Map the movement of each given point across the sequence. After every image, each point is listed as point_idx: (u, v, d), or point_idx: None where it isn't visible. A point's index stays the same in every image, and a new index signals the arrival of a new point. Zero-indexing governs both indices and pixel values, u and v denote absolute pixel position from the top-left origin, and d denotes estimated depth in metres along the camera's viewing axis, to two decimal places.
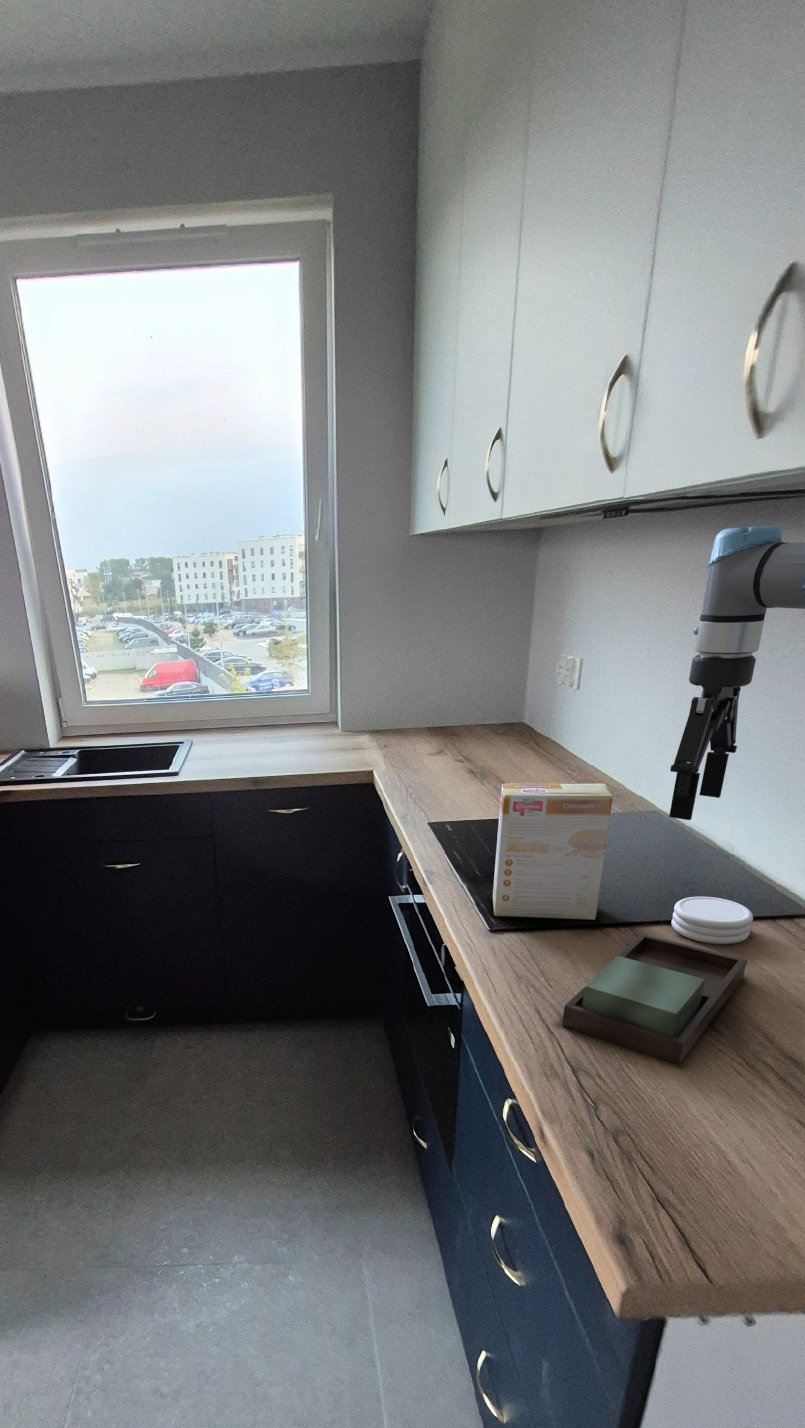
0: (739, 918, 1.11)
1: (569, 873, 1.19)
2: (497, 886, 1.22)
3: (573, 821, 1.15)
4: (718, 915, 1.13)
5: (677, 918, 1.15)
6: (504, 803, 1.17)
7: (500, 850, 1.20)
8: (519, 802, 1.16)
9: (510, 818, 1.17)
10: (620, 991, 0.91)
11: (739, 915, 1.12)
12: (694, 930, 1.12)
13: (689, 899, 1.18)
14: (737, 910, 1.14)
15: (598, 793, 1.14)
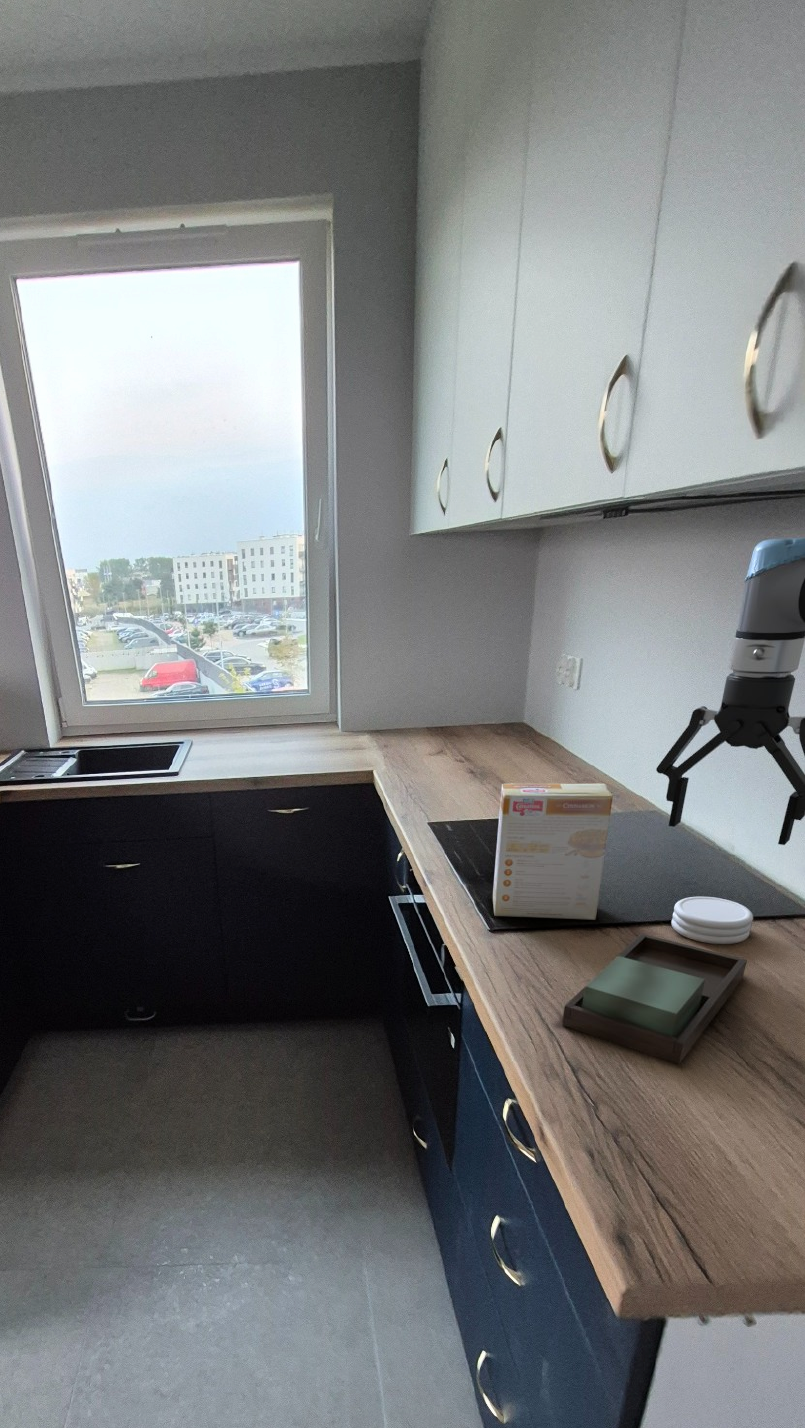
0: (739, 918, 1.11)
1: (569, 873, 1.19)
2: (497, 886, 1.22)
3: (573, 821, 1.15)
4: (718, 915, 1.13)
5: (677, 918, 1.15)
6: (504, 803, 1.17)
7: (500, 850, 1.20)
8: (519, 802, 1.16)
9: (510, 818, 1.17)
10: (620, 991, 0.91)
11: (739, 915, 1.12)
12: (694, 929, 1.12)
13: (689, 899, 1.18)
14: (737, 910, 1.14)
15: (598, 793, 1.14)
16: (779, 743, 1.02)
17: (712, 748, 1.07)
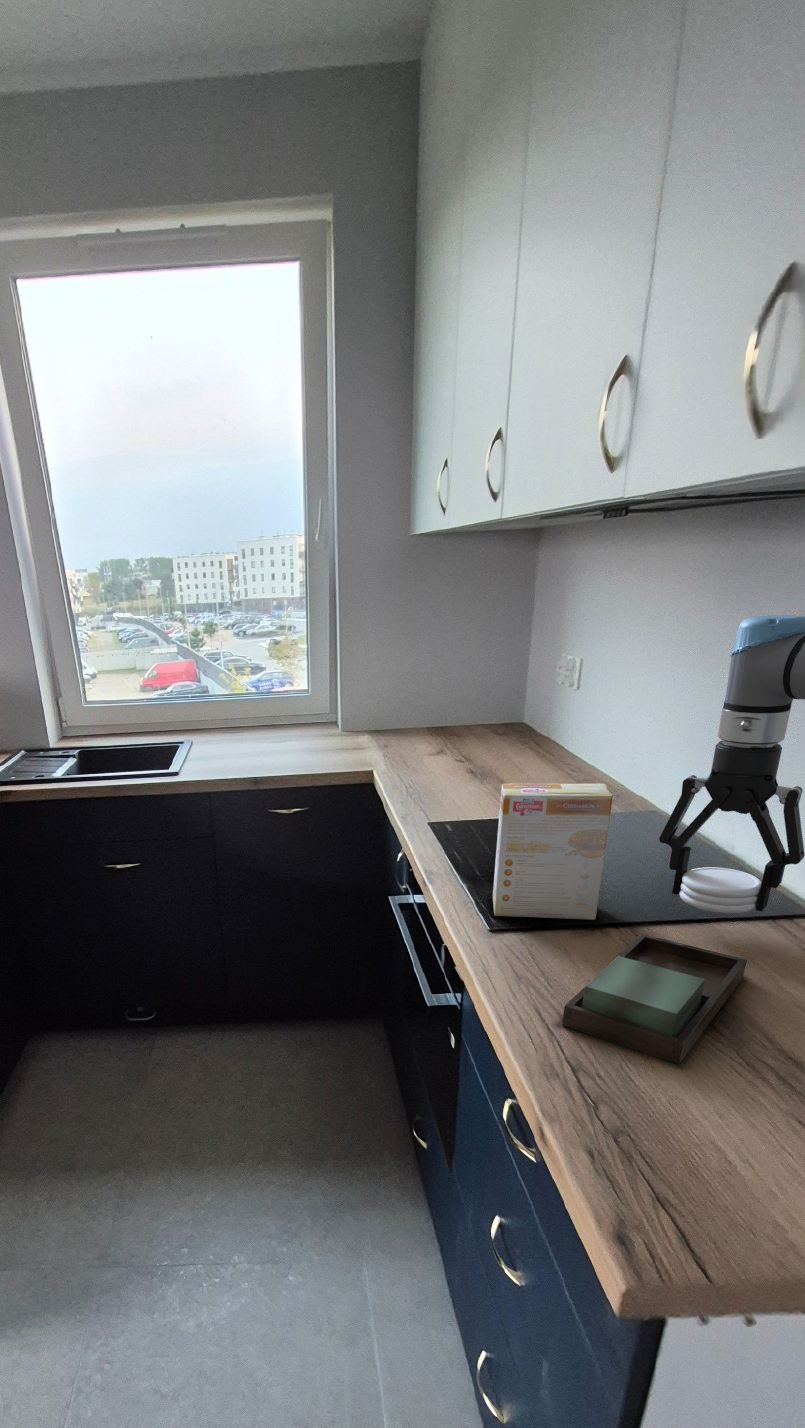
0: (749, 886, 1.09)
1: (569, 873, 1.19)
2: (497, 886, 1.22)
3: (573, 821, 1.15)
4: (728, 884, 1.10)
5: (685, 888, 1.13)
6: (504, 803, 1.17)
7: (500, 850, 1.20)
8: (519, 802, 1.16)
9: (510, 818, 1.17)
10: (620, 991, 0.91)
11: (748, 884, 1.10)
12: (703, 899, 1.10)
13: (697, 870, 1.16)
14: (747, 879, 1.11)
15: (598, 793, 1.14)
16: (764, 812, 1.06)
17: (708, 815, 1.10)
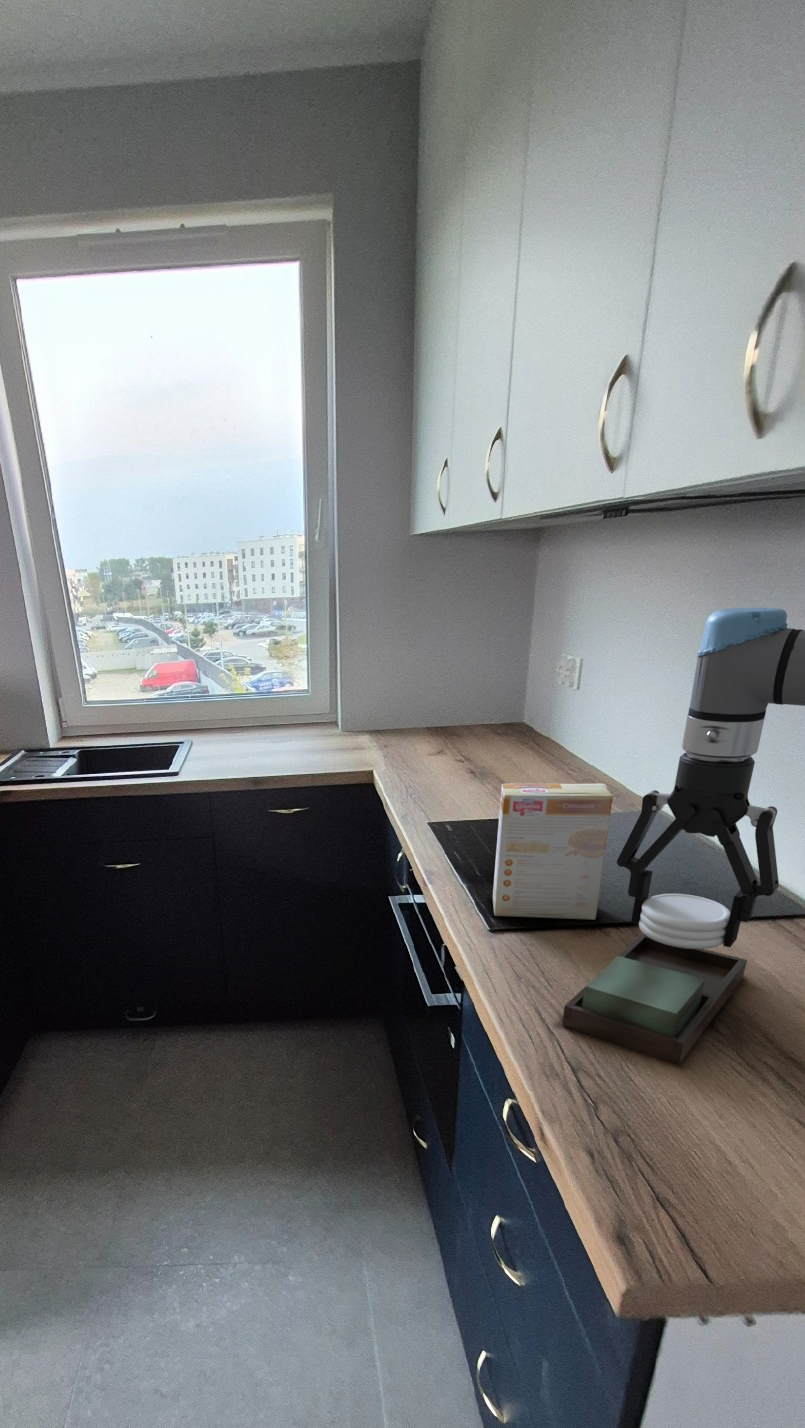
0: (716, 918, 0.96)
1: (569, 873, 1.19)
2: (497, 886, 1.22)
3: (573, 821, 1.15)
4: (692, 915, 0.97)
5: (645, 918, 0.99)
6: (504, 803, 1.17)
7: (500, 850, 1.20)
8: (519, 802, 1.16)
9: (510, 818, 1.17)
10: (620, 991, 0.91)
11: (716, 915, 0.96)
12: (664, 932, 0.97)
13: (659, 896, 1.02)
14: (714, 910, 0.98)
15: (598, 793, 1.14)
16: (733, 835, 0.92)
17: (670, 837, 0.96)
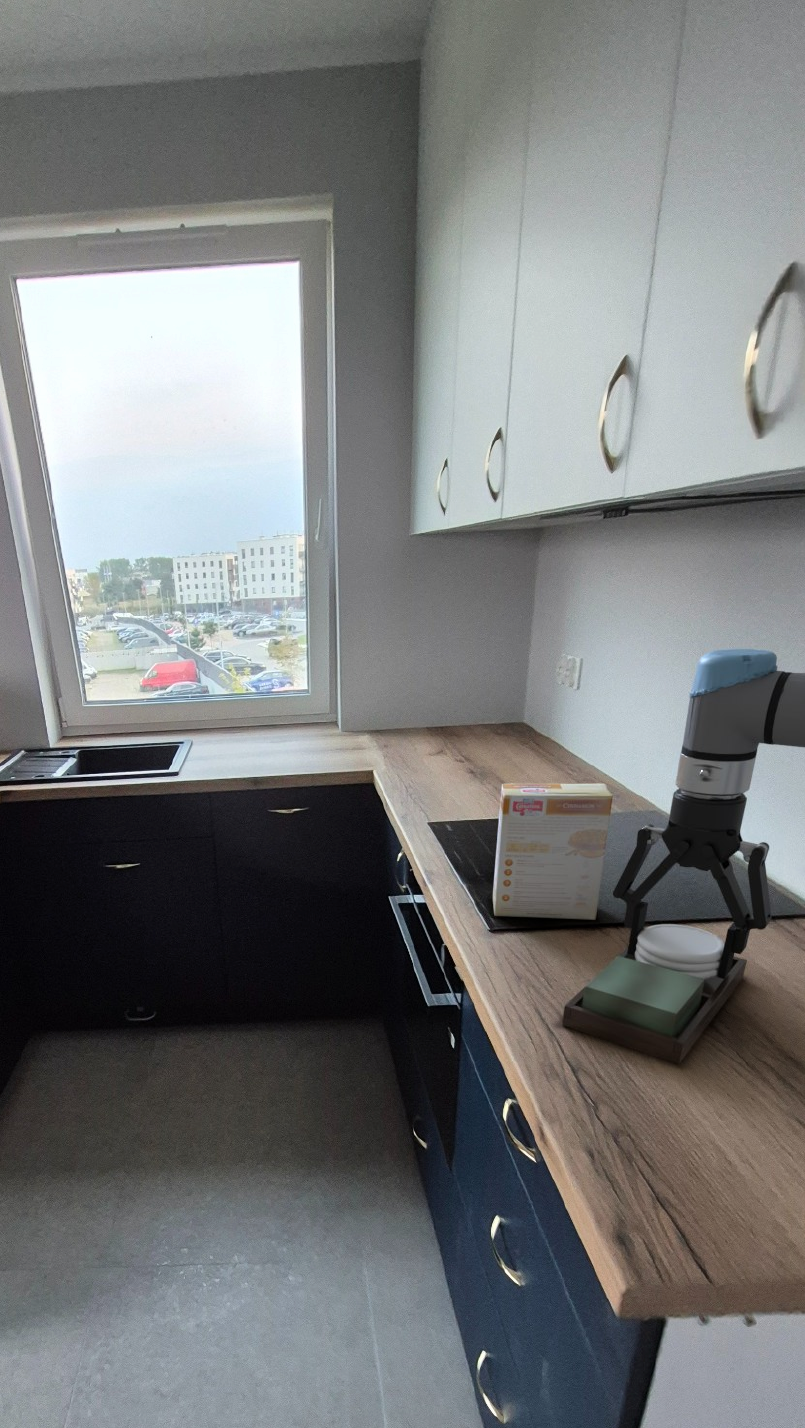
0: (710, 950, 0.97)
1: (569, 873, 1.19)
2: (497, 886, 1.22)
3: (573, 821, 1.15)
4: (687, 947, 0.98)
5: (640, 950, 1.01)
6: (504, 803, 1.17)
7: (500, 850, 1.20)
8: (519, 802, 1.16)
9: (510, 818, 1.17)
10: (620, 991, 0.91)
11: (710, 947, 0.98)
12: (659, 964, 0.98)
13: (655, 927, 1.04)
14: (708, 941, 1.00)
15: (598, 793, 1.14)
16: (726, 869, 0.94)
17: (665, 870, 0.98)
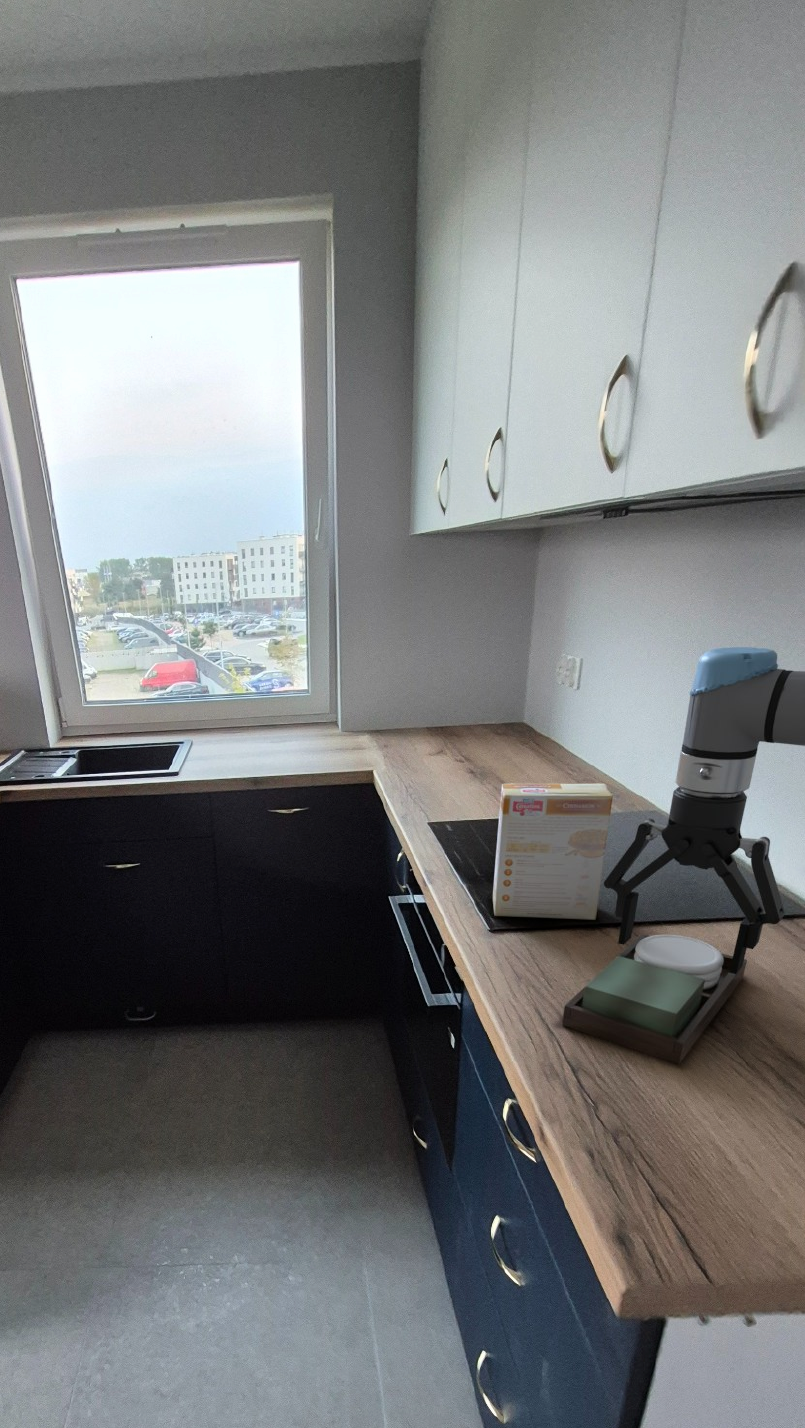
0: (708, 962, 0.98)
1: (569, 873, 1.19)
2: (497, 886, 1.22)
3: (573, 821, 1.15)
4: (684, 958, 0.99)
5: (638, 960, 1.02)
6: (504, 803, 1.17)
7: (500, 850, 1.20)
8: (519, 802, 1.16)
9: (510, 818, 1.17)
10: (620, 991, 0.91)
11: (707, 958, 0.99)
12: None
13: (653, 938, 1.05)
14: (706, 952, 1.00)
15: (598, 793, 1.14)
16: (730, 865, 0.93)
17: (661, 866, 0.98)
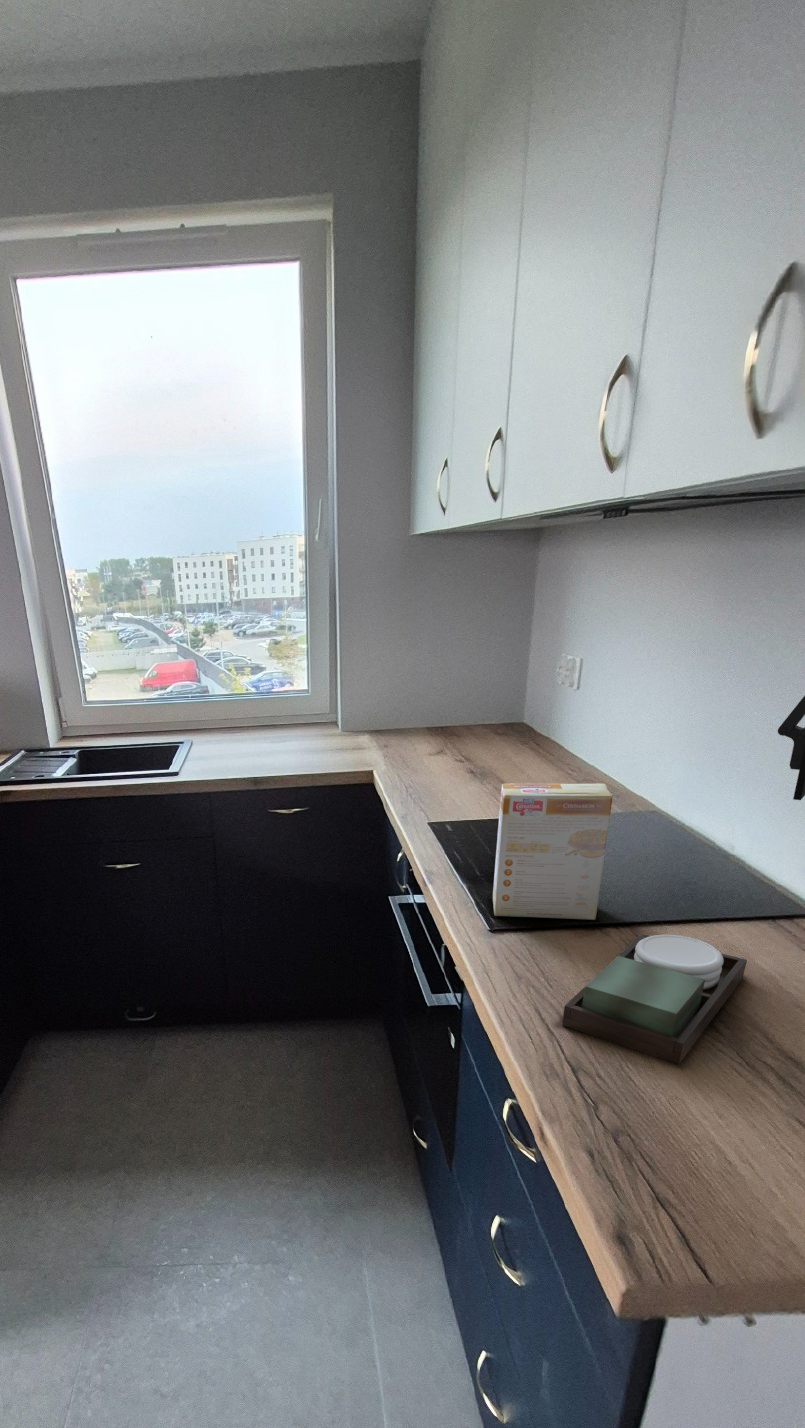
0: (708, 962, 0.98)
1: (569, 873, 1.19)
2: (497, 886, 1.22)
3: (573, 821, 1.15)
4: (684, 958, 0.99)
5: (638, 960, 1.02)
6: (504, 803, 1.17)
7: (500, 850, 1.20)
8: (519, 802, 1.16)
9: (510, 818, 1.17)
10: (620, 991, 0.91)
11: (707, 958, 0.99)
12: None
13: (653, 938, 1.05)
14: (706, 952, 1.00)
15: (598, 793, 1.14)
16: None
17: None
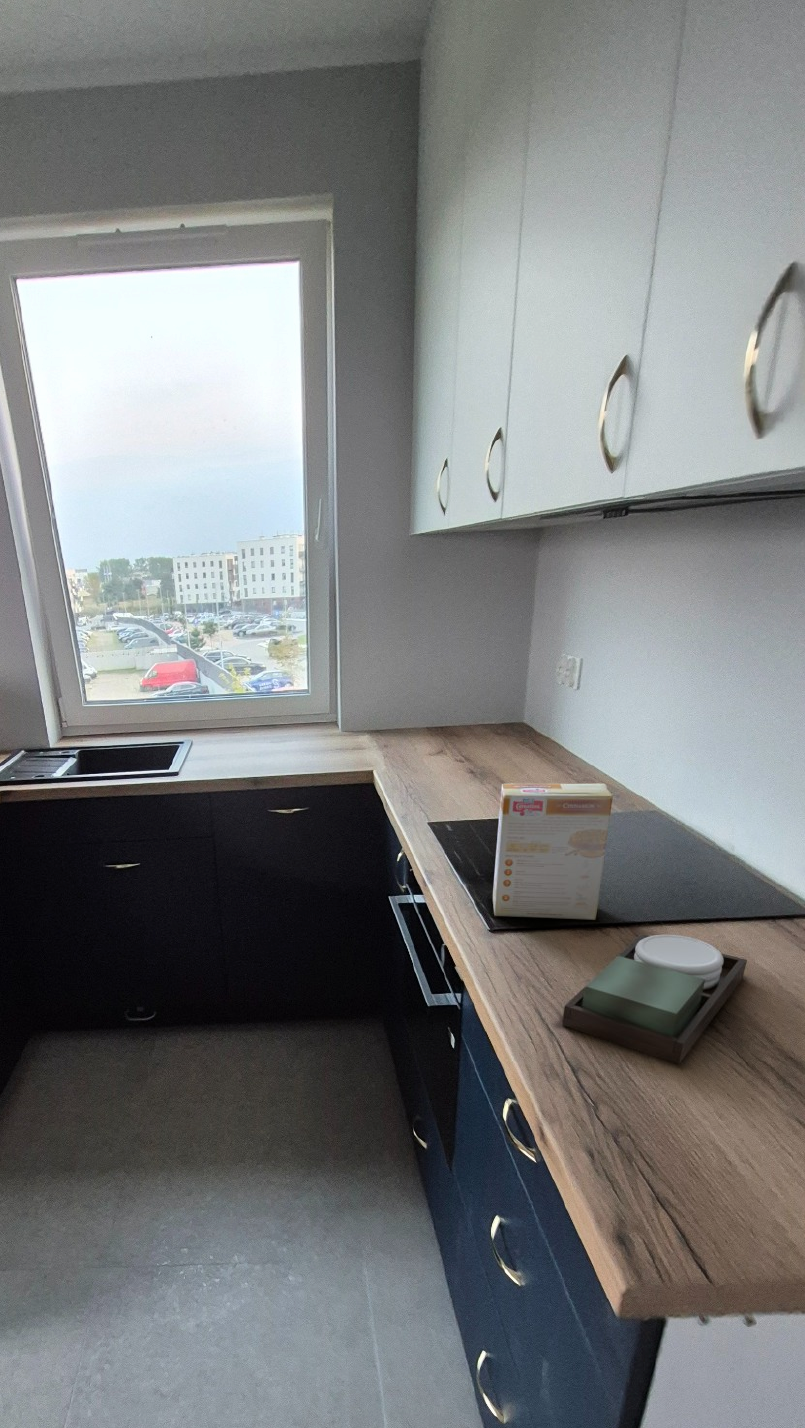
0: (708, 962, 0.98)
1: (569, 873, 1.19)
2: (497, 886, 1.22)
3: (573, 821, 1.15)
4: (684, 958, 0.99)
5: (638, 960, 1.02)
6: (504, 803, 1.17)
7: (500, 850, 1.20)
8: (519, 802, 1.16)
9: (510, 818, 1.17)
10: (620, 991, 0.91)
11: (707, 958, 0.99)
12: None
13: (653, 938, 1.05)
14: (706, 952, 1.00)
15: (598, 793, 1.14)
16: None
17: None
